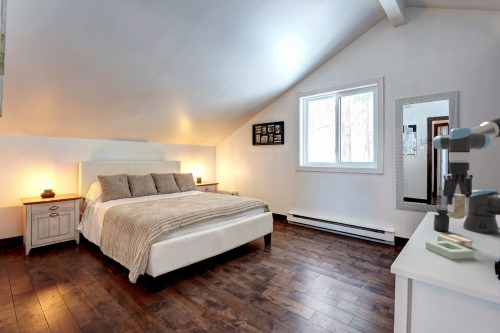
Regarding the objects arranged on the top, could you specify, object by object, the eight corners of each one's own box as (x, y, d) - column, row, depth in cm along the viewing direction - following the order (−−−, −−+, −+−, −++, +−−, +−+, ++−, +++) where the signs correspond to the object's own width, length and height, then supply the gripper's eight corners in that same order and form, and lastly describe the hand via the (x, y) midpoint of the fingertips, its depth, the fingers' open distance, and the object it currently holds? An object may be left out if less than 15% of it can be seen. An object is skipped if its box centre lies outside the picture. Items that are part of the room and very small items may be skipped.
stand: (453, 240, 124) (453, 234, 124) (472, 247, 116) (472, 240, 115) (437, 241, 123) (437, 235, 123) (455, 248, 114) (455, 241, 114)
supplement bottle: (451, 232, 137) (452, 210, 137) (437, 231, 139) (438, 210, 138) (444, 229, 144) (445, 208, 143) (431, 228, 145) (432, 207, 145)
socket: (446, 247, 115) (446, 240, 115) (474, 258, 103) (474, 250, 103) (425, 248, 113) (425, 241, 113) (451, 259, 101) (451, 252, 101)
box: (458, 219, 116) (459, 195, 115) (448, 217, 120) (448, 194, 119) (465, 218, 118) (465, 194, 117) (454, 215, 122) (455, 193, 121)
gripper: (467, 161, 123) (465, 208, 124) (434, 161, 119) (432, 210, 121) (484, 161, 115) (482, 212, 116) (449, 162, 112) (447, 213, 113)
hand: (456, 211), depth 119 cm, fingers closed on box, 6 cm apart
